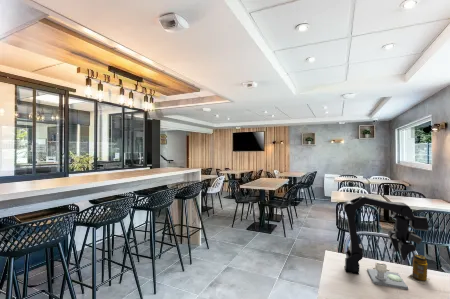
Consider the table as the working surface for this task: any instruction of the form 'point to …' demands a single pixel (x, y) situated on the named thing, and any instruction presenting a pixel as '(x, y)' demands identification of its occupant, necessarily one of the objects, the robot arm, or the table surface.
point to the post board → (387, 279)
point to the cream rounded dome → (381, 267)
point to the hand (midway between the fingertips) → (400, 255)
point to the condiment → (419, 269)
